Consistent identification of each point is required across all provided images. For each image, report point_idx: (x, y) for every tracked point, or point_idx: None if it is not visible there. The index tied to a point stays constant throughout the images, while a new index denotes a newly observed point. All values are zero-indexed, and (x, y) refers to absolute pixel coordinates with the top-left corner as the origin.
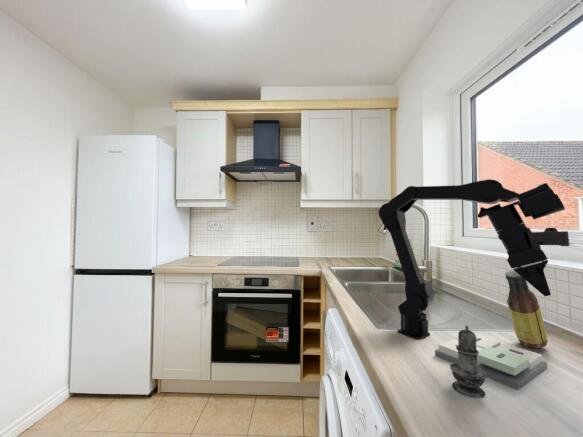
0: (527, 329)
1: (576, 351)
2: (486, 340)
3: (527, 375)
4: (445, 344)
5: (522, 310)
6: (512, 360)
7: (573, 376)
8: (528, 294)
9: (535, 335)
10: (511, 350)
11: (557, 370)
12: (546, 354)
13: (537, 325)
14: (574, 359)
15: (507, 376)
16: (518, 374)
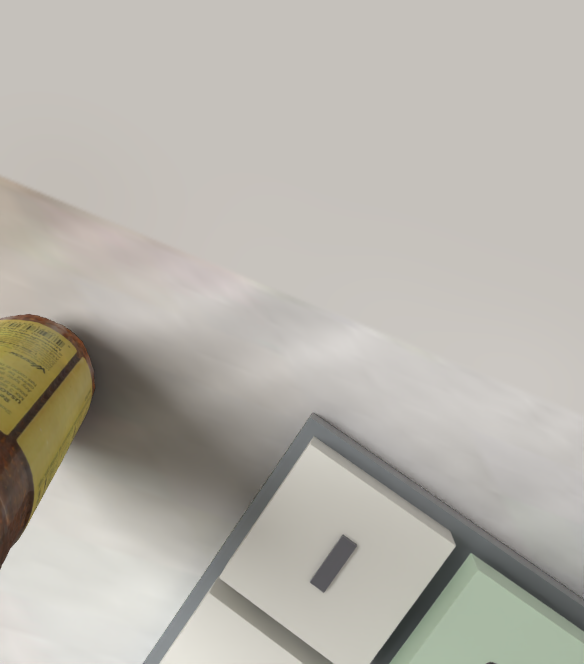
0: (69, 444)
1: (32, 192)
2: (216, 660)
3: (524, 568)
4: None
5: (20, 528)
6: (541, 660)
7: (360, 337)
8: None
9: (80, 397)
10: (328, 583)
11: (322, 378)
12: (139, 349)
13: (55, 401)
14: (147, 247)
15: None
16: None
